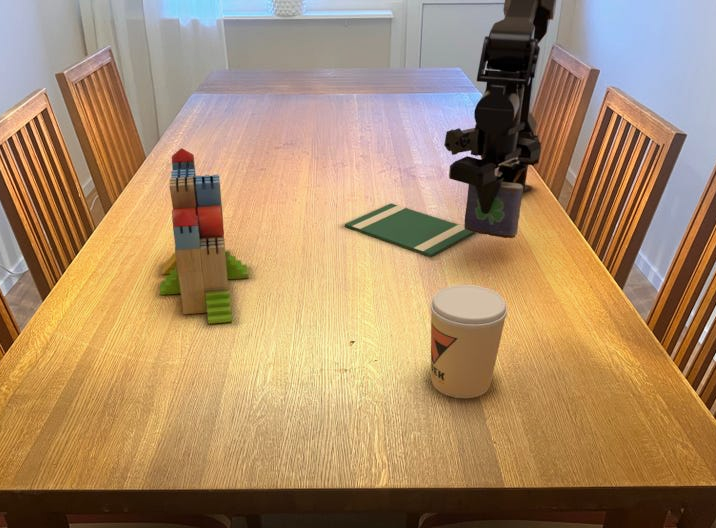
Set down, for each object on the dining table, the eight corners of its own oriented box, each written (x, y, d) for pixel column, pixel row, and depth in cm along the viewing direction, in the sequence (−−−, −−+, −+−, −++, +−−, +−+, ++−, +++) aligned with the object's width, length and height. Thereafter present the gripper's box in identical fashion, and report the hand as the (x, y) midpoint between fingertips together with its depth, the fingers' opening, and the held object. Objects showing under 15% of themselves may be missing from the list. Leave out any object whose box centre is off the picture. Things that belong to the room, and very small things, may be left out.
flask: (518, 234, 127) (526, 173, 121) (513, 241, 125) (521, 179, 118) (466, 223, 130) (472, 164, 124) (460, 230, 128) (466, 170, 122)
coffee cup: (418, 363, 101) (424, 284, 95) (486, 360, 102) (496, 281, 95) (432, 404, 93) (439, 321, 87) (505, 400, 94) (517, 318, 88)
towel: (390, 206, 149) (391, 202, 149) (475, 233, 138) (476, 229, 137) (344, 226, 140) (344, 223, 140) (431, 257, 129) (431, 254, 129)
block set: (255, 321, 111) (246, 197, 100) (158, 329, 109) (139, 203, 98) (243, 243, 134) (235, 136, 124) (163, 248, 132) (148, 140, 122)
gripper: (489, 95, 127) (480, 184, 136) (424, 118, 115) (418, 213, 124) (548, 107, 121) (534, 199, 129) (486, 133, 109) (475, 232, 118)
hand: (490, 210), depth 125 cm, fingers closed on flask, 3 cm apart
